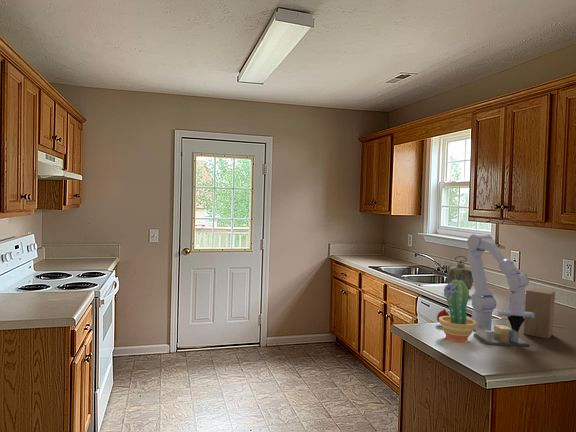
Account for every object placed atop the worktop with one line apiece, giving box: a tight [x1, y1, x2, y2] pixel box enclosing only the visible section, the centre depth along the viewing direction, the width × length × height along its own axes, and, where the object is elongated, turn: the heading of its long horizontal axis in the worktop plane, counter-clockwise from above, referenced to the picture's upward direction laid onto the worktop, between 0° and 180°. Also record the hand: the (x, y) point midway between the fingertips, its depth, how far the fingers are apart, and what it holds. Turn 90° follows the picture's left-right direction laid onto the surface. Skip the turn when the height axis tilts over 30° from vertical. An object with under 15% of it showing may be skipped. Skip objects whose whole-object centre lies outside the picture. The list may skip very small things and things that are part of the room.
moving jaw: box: [504, 325, 520, 342], centre depth 192 cm, size 10×2×4 cm, turn 1°
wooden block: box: [523, 287, 556, 340], centre depth 204 cm, size 10×10×20 cm
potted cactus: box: [438, 280, 477, 343], centre depth 192 cm, size 15×15×25 cm
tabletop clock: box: [446, 255, 474, 291], centre depth 289 cm, size 14×9×25 cm, turn 82°
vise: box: [473, 325, 530, 347], centre depth 192 cm, size 12×18×5 cm, turn 91°
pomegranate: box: [436, 308, 450, 325], centre depth 213 cm, size 6×6×8 cm
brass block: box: [493, 324, 510, 341], centre depth 192 cm, size 6×4×5 cm, turn 1°
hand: (514, 333), depth 192 cm, fingers closed
